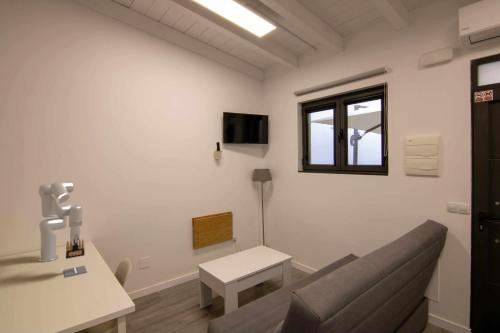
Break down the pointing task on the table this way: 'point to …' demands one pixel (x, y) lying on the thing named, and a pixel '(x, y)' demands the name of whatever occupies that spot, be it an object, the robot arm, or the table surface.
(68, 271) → the mat
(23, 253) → the table surface
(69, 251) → the ammunition clip
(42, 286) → the table surface
